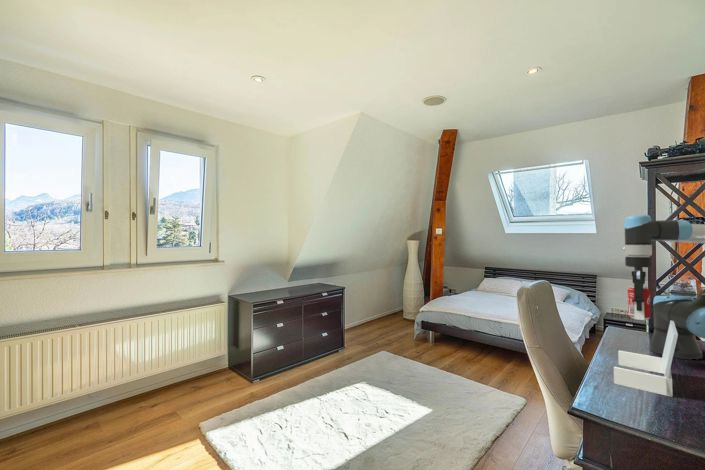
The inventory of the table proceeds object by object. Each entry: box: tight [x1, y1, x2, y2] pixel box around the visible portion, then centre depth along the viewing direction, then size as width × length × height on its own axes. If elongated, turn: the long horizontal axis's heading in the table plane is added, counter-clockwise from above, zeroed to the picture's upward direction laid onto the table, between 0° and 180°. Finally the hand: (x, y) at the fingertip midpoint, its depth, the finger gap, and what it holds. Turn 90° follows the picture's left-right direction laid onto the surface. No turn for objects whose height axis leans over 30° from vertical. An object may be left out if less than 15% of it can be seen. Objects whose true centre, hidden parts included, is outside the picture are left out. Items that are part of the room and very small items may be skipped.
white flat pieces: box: [613, 349, 673, 398], centre depth 106 cm, size 13×22×5 cm, turn 137°
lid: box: [661, 320, 678, 377], centre depth 101 cm, size 13×22×1 cm
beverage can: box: [627, 285, 652, 321], centre depth 120 cm, size 6×6×12 cm
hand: (639, 317), depth 120 cm, fingers closed on beverage can, 6 cm apart
